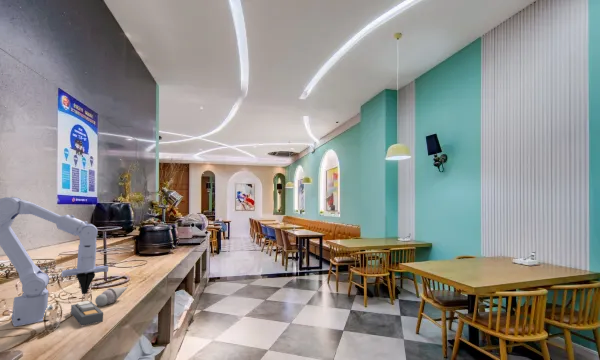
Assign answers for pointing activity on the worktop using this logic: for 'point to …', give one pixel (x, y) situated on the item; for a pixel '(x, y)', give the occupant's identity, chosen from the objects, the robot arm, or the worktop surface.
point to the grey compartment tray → (86, 319)
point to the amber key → (90, 312)
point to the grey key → (86, 307)
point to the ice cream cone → (109, 296)
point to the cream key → (82, 303)
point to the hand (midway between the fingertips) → (84, 293)
